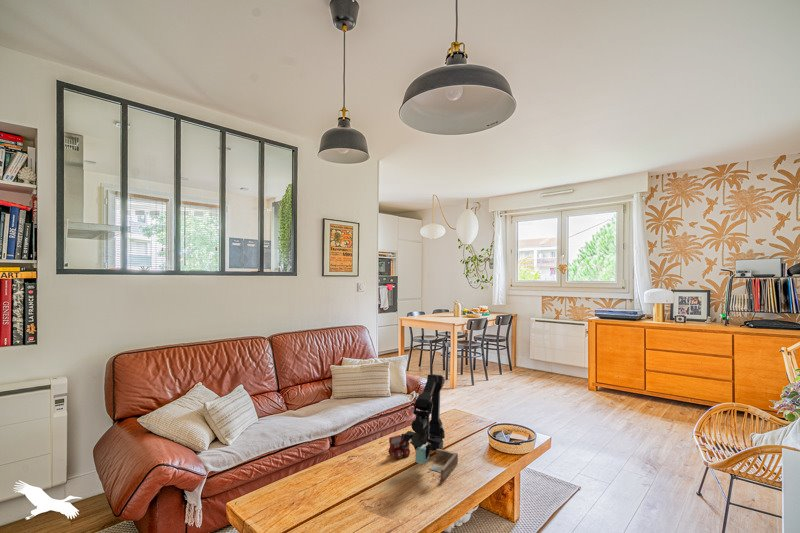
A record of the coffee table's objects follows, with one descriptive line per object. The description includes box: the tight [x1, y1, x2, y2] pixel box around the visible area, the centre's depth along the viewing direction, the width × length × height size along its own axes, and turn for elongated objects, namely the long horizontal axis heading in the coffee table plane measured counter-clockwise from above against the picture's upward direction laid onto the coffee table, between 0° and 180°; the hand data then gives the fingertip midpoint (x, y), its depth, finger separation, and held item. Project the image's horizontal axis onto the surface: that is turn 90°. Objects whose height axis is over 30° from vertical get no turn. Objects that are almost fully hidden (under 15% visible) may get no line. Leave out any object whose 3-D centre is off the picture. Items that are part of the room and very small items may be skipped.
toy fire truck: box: [387, 433, 411, 460], centre depth 197 cm, size 7×12×10 cm, turn 126°
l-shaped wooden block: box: [428, 448, 459, 482], centre depth 184 cm, size 11×19×5 cm, turn 152°
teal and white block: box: [415, 443, 430, 465], centre depth 181 cm, size 7×4×6 cm, turn 152°
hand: (422, 457), depth 181 cm, fingers closed on teal and white block, 4 cm apart
